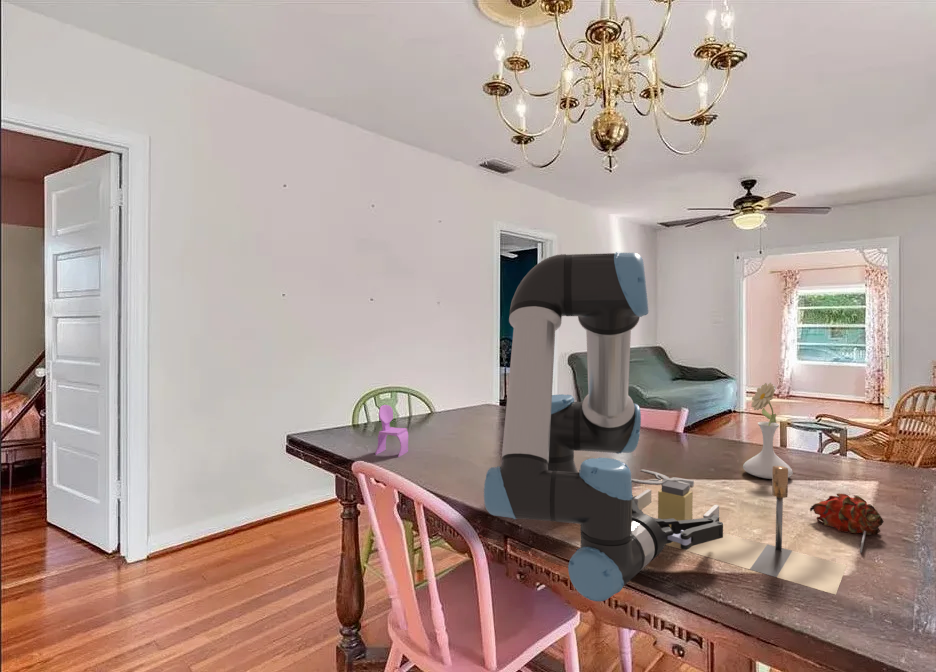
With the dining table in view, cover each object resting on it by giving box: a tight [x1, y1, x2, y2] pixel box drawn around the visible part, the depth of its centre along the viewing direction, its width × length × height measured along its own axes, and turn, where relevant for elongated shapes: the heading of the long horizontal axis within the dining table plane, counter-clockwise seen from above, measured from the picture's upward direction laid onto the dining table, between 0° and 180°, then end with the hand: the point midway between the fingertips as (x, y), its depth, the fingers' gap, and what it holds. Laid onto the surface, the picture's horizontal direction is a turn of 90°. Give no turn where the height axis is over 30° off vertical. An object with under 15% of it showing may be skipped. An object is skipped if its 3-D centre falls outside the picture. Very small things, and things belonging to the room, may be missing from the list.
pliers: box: [631, 469, 695, 490], centre depth 137 cm, size 10×2×15 cm
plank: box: [665, 532, 847, 596], centre depth 97 cm, size 32×12×1 cm, turn 48°
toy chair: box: [374, 404, 409, 458], centre depth 166 cm, size 8×9×15 cm
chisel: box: [771, 466, 789, 551], centre depth 96 cm, size 2×2×15 cm
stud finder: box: [657, 481, 694, 544], centre depth 102 cm, size 5×4×10 cm
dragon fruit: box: [809, 492, 884, 536], centre depth 105 cm, size 8×8×12 cm
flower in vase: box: [742, 382, 794, 480], centre depth 138 cm, size 13×11×25 cm
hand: (682, 503), depth 104 cm, fingers open, 12 cm apart
